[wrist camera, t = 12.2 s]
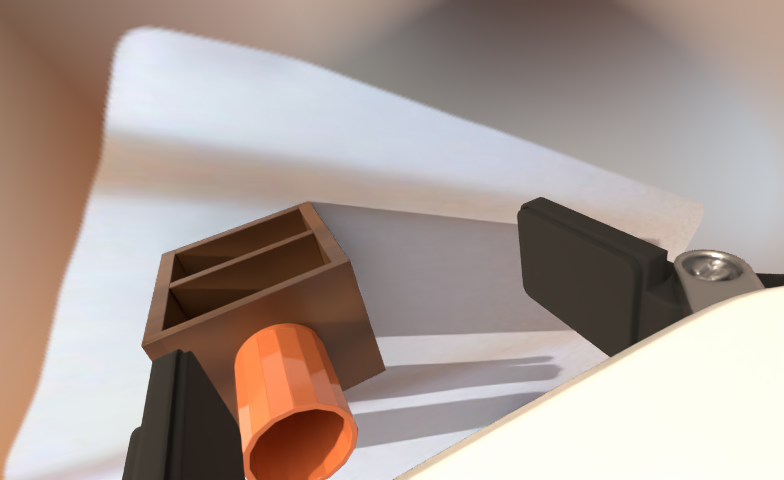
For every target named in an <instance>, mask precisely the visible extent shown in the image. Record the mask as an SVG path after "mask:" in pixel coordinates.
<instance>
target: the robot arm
mask: <svg viewBox="0 0 784 480" xmlns="http://www.w3.org/2000/svg"><path fill="white" fill-rule="evenodd" d="M517 219H518V231H519V242H520V254H521V265H522V277H523V286H524V289H525V291H526V293H527V294H528V295H529V296H530V297H531V298H532V299H534V300H535V301H536V302H538V303H539V304H540V305H542V306H543V307H544V308H546V309H547V310H548V311H550V312H551V313H552V314H553V315H555V316H556V317H557V318H559V319H560V320H561V321H563V322H564V323H565V324H567V325H568V326H569V327H571V328H572V329H573V330H575V331H576V332H577V333H579V334H580V335H581V336H583V337H584V338H585V339H587V340H588V341H589V342H591V343H592V344H593V345H595V346H596V347H597V348H599V349H600V350H601V351H603V352H604V353H605V354H607V355H608V356H609V357H611V358H609V359H607V360H605V361H604V362H602V363H600V364H598V365H596V366H594V367H593V368H591V369H589V370H587V371H585V372H584V373H582V374H580V375H578V376H576V377H575V378H573V379H571V380H569V381H567V382H565V383H564V384H562V385H560V386H558V387H556V388H555V389H553V390H551V391H549V392H547V393H546V394H544V395H542V396H540V397H539V398H537V399H535V400H533V401H531V402H530V403H528V404H526V405H524V406H522V407H521V408H519V409H517V410H515V411H513V412H512V413H510V414H508V415H506V416H504V417H503V418H501V419H499V420H497V421H496V422H494V423H492V424H490V425H488V426H487V427H485V428H483V429H481V430H480V431H478V432H476V433H474V434H472V435H471V436H469V437H467V438H465V439H463V440H462V441H460V442H458V443H456V444H455V445H453V446H451V447H449V448H447V449H446V450H444V451H442V452H440V453H439V454H437V455H435V456H433V457H432V458H430V459H428V460H426V461H425V462H423V463H421V464H419V465H417V466H416V467H414V468H412V469H410V470H409V471H407V472H405V473H403V474H402V475H400V476H398V477H396V478H395V479H393V480H784V274H759V273H755V272H754V271H753V270H752V268H751V267H750V265H749V264H748V263H746V262H745V261H744V260H743V259H741V258H739V257H737V256H735V255H732V254H729V253H726V252H721V251H715V250H692V251H688V252H685V253H682V254H680V255H679V256H677V257H676V259H675V261H674V263H672V262H670V261H667V254H668V251H667V250H665V249H662V248H660V247H658V246H655V245H653V244H651V243H648V242H646V241H644V240H641V239H639V238H637V237H634V236H632V235H630V234H627V233H625V232H623V231H620V230H618V229H616V228H613V227H611V226H609V225H606V224H604V223H602V222H599V221H597V220H595V219H592V218H590V217H588V216H585V215H583V214H581V213H578V212H576V211H574V210H571V209H569V208H567V207H564V206H562V205H560V204H557V203H555V202H553V201H550V200H548V199H545V198H543V197H539V198H536V199H534V200H532V201H529V202H527V203H525V204H523V205H522V206H521V209H520V211H519V212H518V214H517ZM122 480H245V472H244V461H243V450H242V439H241V433H240V429H239V426H238V424H237V422H236V420H235V419H234V417H233V416H232V414H231V412H230V411H229V409H228V408H227V406H226V404H225V403H224V401H223V400H222V398H221V396H220V395H219V393H218V392H217V390H216V388H215V387H214V385H213V384H212V382H211V380H210V379H209V377H208V376H207V374H206V372H205V371H204V369H203V368H202V366H201V364H200V363H199V361H198V360H197V358H196V356H195V355H194V353H193V352H192V351H188V352H185V353H184V352H183V351H182V350H181V349H177V350H175V351H172V352H170V353H167V354H165V355H163V356H160V357H158V358H156V359H154V360H153V362H152V368H151V373H150V379H149V385H148V390H147V396H146V402H145V407H144V413H143V419H142V424H141V426H140V427H138V428H136V429H135V430H134V431H133V432H132V435H131V438H130V442H129V447H128V452H127V457H126V462H125V467H124V472H123V477H122Z"/></svg>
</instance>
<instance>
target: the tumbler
mask: <svg viewBox="0 0 784 480" xmlns="http://www.w3.org/2000/svg"><path fill="white" fill-rule="evenodd" d="M234 382H235V394H236V406H237V418H238V426H239V429H240V433H241V439H242V450H243V461H244V472H245V477H246V478H247V480H326V479H328V478H330V477H331V476H332V475H333V474H334V473H335V472H336V471H338V470H339V469H340V468H341V467H342V466H343V465H344V464H345V463H346V462H347V460H348V459H349V457H350V455H351V454H352V452H353V450H354V449H355V446H356V441H357V434H358V428H357V426H356V423H355V421H354V418H353V416H352V413H351V411H350V408H349V406H348V403H347V401H346V398H345V396H344V393H343V391H342V388H341V386H340V383H339V381H338V378H337V376H336V373H335V371H334V368H333V366H332V363H331V361H330V358H329V356H328V354H327V351H326V349H325V346H324V344H323V341H322V340H321V338H320V337H319V335H318V334H317V333H316V332H315V331H313V330H312V329H310V328H308V327H306V326H303V325H300V324H294V323H283V324H276V325H273V326H269V327H267V328H264V329H262V330H260V331H258V332H257V333H255V334H254V335H252V336H251V337H250V338H249V339H248V340H247V341H246V342H245V343H244V344H243V345H242V347H241V348H240V350H239V351H238V353H237V356H236V358H235V362H234Z"/></svg>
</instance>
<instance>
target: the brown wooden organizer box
mask: <svg viewBox="0 0 784 480" xmlns="http://www.w3.org/2000/svg"><path fill="white" fill-rule="evenodd" d="M283 323H294V324H300V325H303V326H306V327H308V328H310V329H312V330H313V331H315V332H316V333H317V334H318V335H319V337H320V338H321V340H322V341H323V344H324V346H325V349H326V351H327V354H328V356H329V358H330V361H331V363H332V366H333V368H334V371H335V373H336V376H337V378H338V381H339V383H340V386H341V388H342V391H345V390H347V389H349V388H351V387H353V386H355V385H357V384H359V383H361V382H363V381H365V380H367V379H369V378H371V377H373V376H376V375H378V374H380V373H382V372H384V371H385V370H386V369H385V366H384V363H383V360H382V357H381V354H380V351H379V348H378V345H377V342H376V339H375V336H374V333H373V330H372V327H371V324H370V321H369V317H368V314H367V311H366V308H365V305H364V302H363V299H362V296H361V293H360V290H359V287H358V284H357V281H356V278H355V275H354V272H353V269H352V265H351V262H350V260H349V259H348V257H347V256H346V255H345V253H344V252H343V250H342V249H341V247H340V246H339V244H338V243H337V242H336V240H335V239H334V237H333V236H332V234H331V233H330V231H329V230H328V229H327V227H326V226H325V224H324V223H323V221H322V220H321V218H320V217H319V216H318V214H317V213H316V211H315V210H314V208H313V207H312V205H311V204H310V203H309V201H308V202H305V203H302V204H299V205H297V206H294V207H291V208H288V209H286V210H283V211H280V212H277V213H275V214H272V215H269V216H266V217H264V218H261V219H258V220H255V221H253V222H250V223H247V224H244V225H242V226H239V227H236V228H234V229H231V230H228V231H225V232H223V233H220V234H217V235H214V236H212V237H209V238H206V239H203V240H201V241H198V242H195V243H192V244H190V245H187V246H184V247H181V248H179V249H176V250H173V251H170V252H167V253H165V254H162V257H161V262H160V266H159V270H158V275H157V279H156V284H155V288H154V292H153V297H152V301H151V306H150V310H149V315H148V319H147V323H146V328H145V332H144V337H143V341H142V345H141V347H142V348H143V349H144V351H145V352H146V354H147V355H148V356H149V358H150V359H151V361H152V362H153V360H154V359H156V358H158V357H160V356H163V355H165V354H167V353H170V352H172V351H175V350H177V349H181V350H182V351H183V352H184V353H185V352H188V351H192V352H193V353H194V355H195V356H196V358H197V360H198V361H199V363H200V364H201V366H202V368H203V369H204V371H205V372H206V374H207V376H208V377H209V379H210V380H211V382H212V384H213V385H214V387H215V388H216V390H217V392H218V393H219V395H220V396H221V398H222V400H223V401H224V403H225V404H226V406H227V408H228V409H229V411H230V412H231V414H232V416H233V417H234V419H235V420H236V422H237V424H238V418H237V406H236V394H235V382H234V362H235V358H236V356H237V353H238V351H239V350H240V348H241V347H242V345H243V344H244V343H245V342H246V341H247V340H248V339H249V338H250V337H251V336H252V335H254V334H255V333H257V332H258V331H260V330H262V329H264V328H267V327H269V326H273V325H276V324H283Z"/></svg>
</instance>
